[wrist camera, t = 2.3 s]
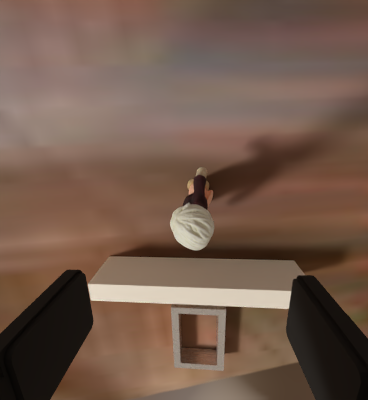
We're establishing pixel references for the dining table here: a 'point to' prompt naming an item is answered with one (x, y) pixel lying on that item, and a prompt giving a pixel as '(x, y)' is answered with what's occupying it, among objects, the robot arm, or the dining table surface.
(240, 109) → the dining table surface
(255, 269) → the white long flat block
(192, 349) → the grey hollow rectangular frame
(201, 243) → the grandmother figurine
